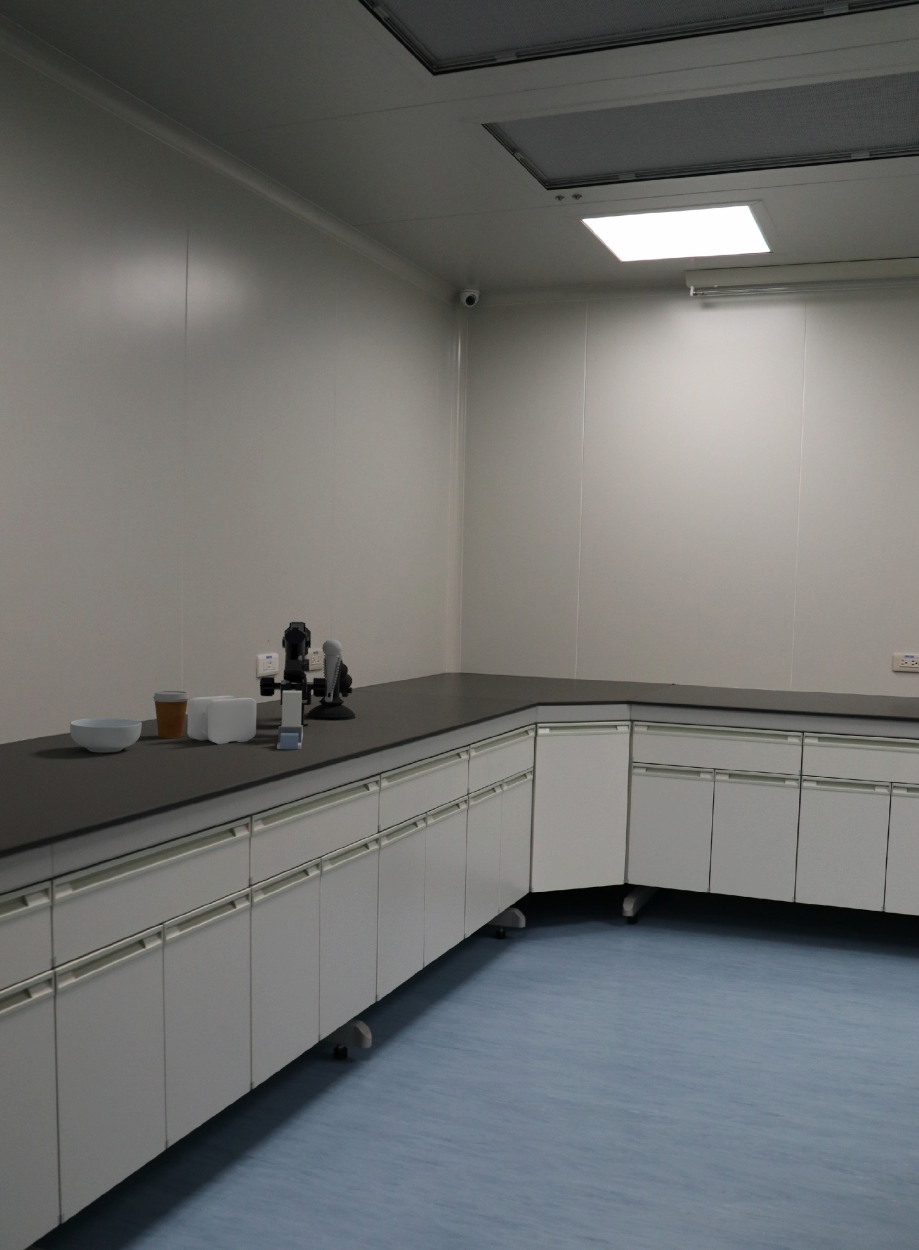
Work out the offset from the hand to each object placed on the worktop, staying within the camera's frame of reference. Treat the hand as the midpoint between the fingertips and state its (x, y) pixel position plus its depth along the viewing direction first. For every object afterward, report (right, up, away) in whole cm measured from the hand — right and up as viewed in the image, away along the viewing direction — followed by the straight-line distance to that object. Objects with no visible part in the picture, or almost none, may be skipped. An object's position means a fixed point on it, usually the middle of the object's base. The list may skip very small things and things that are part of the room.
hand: (292, 710), depth 290 cm
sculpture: (+6, -6, +47) cm, 48 cm away
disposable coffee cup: (-32, -7, -7) cm, 33 cm away
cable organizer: (-17, -7, -11) cm, 22 cm away
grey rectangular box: (+1, -6, -6) cm, 8 cm away
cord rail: (+1, -8, -11) cm, 13 cm away
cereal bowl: (-41, -8, -31) cm, 52 cm away
